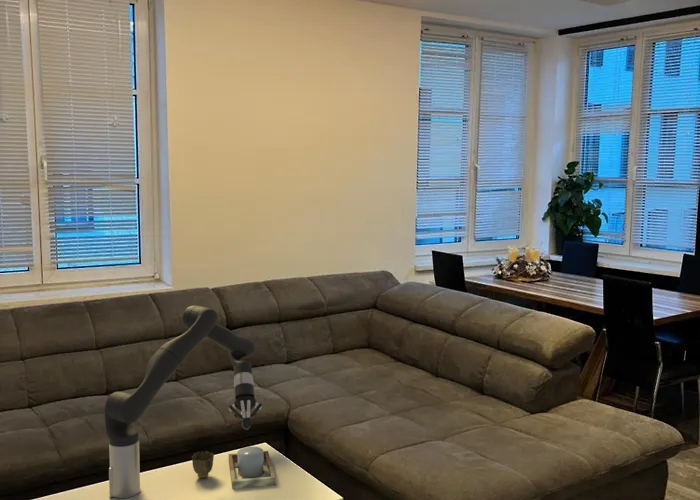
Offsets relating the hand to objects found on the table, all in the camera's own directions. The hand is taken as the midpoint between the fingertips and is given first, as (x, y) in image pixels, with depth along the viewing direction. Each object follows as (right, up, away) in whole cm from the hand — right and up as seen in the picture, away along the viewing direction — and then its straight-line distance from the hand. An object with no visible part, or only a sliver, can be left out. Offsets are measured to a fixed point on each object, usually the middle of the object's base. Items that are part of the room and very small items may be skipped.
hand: (246, 428), depth 250 cm
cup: (-12, -12, -18) cm, 25 cm away
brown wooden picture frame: (+4, -12, -13) cm, 18 cm away
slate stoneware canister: (+4, -12, -13) cm, 18 cm away
